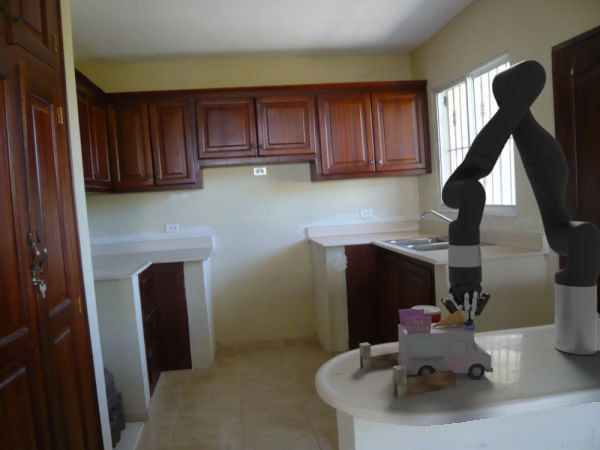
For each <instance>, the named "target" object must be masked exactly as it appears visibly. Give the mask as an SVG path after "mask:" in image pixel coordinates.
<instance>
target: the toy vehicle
mask: <svg viewBox="0 0 600 450" xmlns="http://www.w3.org/2000/svg"><path fill="white" fill-rule="evenodd" d="M398 314H399V321H400V323H399V324H397V327H398V329H397V331H398V350H399V358H398V359H397V361H398V363H399V364H398V366H399V365H402V366H403V367H405V368H406V376H411V375H414V377H417V376H423V375H428V374H433V373H438V372H444V371H449V370H451V371H452V372H454V373H455V374H467V375H468V377H470V378H471V379H472V380H477V381H478V380H481V379H482V378H483V377H484V376H485V373H493V372H494V368H493V367H492V355H491V354H489V352H488V351H486V350H485V349H484V348H483V347H481V346H480V345H479V344H478V343H477V342H476V340H475V332H474V331H475V330H476V325H475V323H473V325H470V326H466V325H465V324H463V323H467V319H468V315H467V313H466V312H465V311H463V310H457V311H456V312H454V313H453V314H451V313H450V314H449V315H448V316H446V317H445V318H442V319H441V321H440V322H438V323H431V319H432V316H423V314H424V309H411V308H407V309H398ZM471 329H473V331H472V330H471Z"/></svg>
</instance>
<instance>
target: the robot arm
mask: <svg viewBox="0 0 600 450" xmlns="http://www.w3.org/2000/svg"><path fill="white" fill-rule="evenodd" d="M546 82H547V73H546V70H545V67H544V66H543V65H542V64H541V63H540V62H538V60H534V59H526V60H522V61H520V62H517V63H515V64H513V65H510V66H509V67H507V68H505V69H502V70H500V71H499V72H497V73H496V74H495V75H494V77H493V79H492V82H491V83H492V84H491V90H492V95H493V97H494V101H495V103H496V105H497V107H498V109H497V111H496V112H495V113H494V114H493V116H492V117H490V119H489V120H488V122H486V124H485V125H484V126H483V127H482V128H481V130H480V131H478V133H477V134H476V136H475V138H474V139H473V141H472V143H471V144H470V147H469V149H467V152H466V154H465V156H464V158H463V160H462V161H461V163H460V164H459V165H458V166H457V167H456V168H455V170H453V173H451V175H450V176H449V177H448V178H447V180H446V181H445V183H444V185H443V187H442V189H441V190H442V191H441V199H442V202H443V205H444V206H446V208H449V209H453V210H458V213H457V216H456V219H453V220H451V221H450V222H449V223H448V229H447V230H448V252H447V259H448V260H447V263H448V265H447V266H448V269H447V270H448V282H449V285H450V286H449V289H448V294H447V295H446V297H441V299H440V302H441V303H442V305H443V306H444V307H445V308H446V310H447V311H448V312H449V314H450V315H451V314H453V313H454V312H456V311H457V310H463V311H465V312H466V313H467V315H468V319H467V323H463V324H465V325H466V326H470V325H473V324H474V320H475V318H476V317H477V316H478V317H479V316H481V314H482V312H483V311H484V309H485V307H486V305H488V301H489V300H490V298H491V295H490V294H489V293H486V292H485V291H483V287H482V285H481V284H482V282H483V265H482V263H483V261H482V256H483V255H482V249H481V232H480V227H481V223H482V219H483V215H484V211H485V207H486V201H487V193H486V189H485V186H484V185H483V184H482V182H480V180H482V179H484V178H486V177H488V176H489V175H491V173H492V172H493V170H494V169H495V166H496V164H497V162H498V160H499V158H500V156H501V154H502V153H503V150H504V148H505V147H506V145H507V143H508V141H509V139H510V137H511V136H512V140H513V141H514V144H515V146H516V149H517V151H518V153H519V157H520V160H521V164H522V166H523V168H524V169H523V170H524V171H525V174H526V177H527V180H528V182H529V184H530V187H531V189H532V193H533V196H534V198H535V201H536V204H537V207H538V209H539V210H538V211H539V214H540V218H541V221H542V225H543V229H544V234H545V238H546V241H547V244H548V246H549V248H550V249H551V250H552V252H554V253H556V255H560V256H563V257H564V256H565V257H567V260H566V266H565V267H564V268H562V269H558V270H557V271H555V273H554V347H555V348H556V349H557V350H559V351H561V352H564V353H567V354H573V355H581V356H582V355H583V356H585V355H586V356H588V355H594V354H596V353H597V352H598V351H599V350H600V313H598V291H597V290H598V278H599V275H600V229H599V227H598V226H597V225H596V224H594V223H592V222H588V221H579V220H578V221H577V220H575V221H574V220H573V219H572V217H571V215H570V213H569V210H568V208H567V204H566V190H567V186H568V181H569V177H570V176H569V175H570V173H569V172H570V171H569V164H568V162H567V159H566V156H565V153H564V152H563V148H562V146H561V144H560V143H559V141H558V140H557V139H556V138H555V137H554V136H553V135H552V134H551V133H550V132H549V131H548V130H547V129H546V128H544V127H543V126H542V124H541V123H539V121H538V120H537V119H536V118H535V117H534V115H533V113H532V111H531V107H532V106H533V104H534V103H535V102H536V101H537V100H538V98H539V96H540V95H541V93H542V92H543V90H544V88H545V87H546ZM471 330H472V331H473V332H474V330H473V329H471Z"/></svg>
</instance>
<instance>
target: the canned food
mask: <svg viewBox="0 0 600 450" xmlns="http://www.w3.org/2000/svg"><path fill="white" fill-rule="evenodd" d="M410 309H424V314H423V316H432V319H431V323H438V322H440V321H441V320H442V312H441V311H442V310H441V308H439V307H438V306H433V305H425V304H424V305H421V304H420V305H415V306H412V307H411V308H410Z"/></svg>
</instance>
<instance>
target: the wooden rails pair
mask: <svg viewBox="0 0 600 450" xmlns="http://www.w3.org/2000/svg"><path fill="white" fill-rule="evenodd" d="M371 350H372V347H371V344H370V343H368V342H367V341H366V342H361V343H359V367H360V369H362V370H363V371H367V370H372V369H377V368H382V367H389V366H392V383H393V396H395V397H396V398H398V399H401V398H407V397H409V396H413V395H418V394H425V393H429V392H434V391H437V390H438V391H439V390H443V389H448V388H452V387H453V388H454V387H456V377H455V376H456V373H454V372H452V371H451V370H449V371H444V372H438V373H435V372H434V373H433V374H428V375H423V376H417V377H415V376H413V377H408V378H407V376H408V375H406V368H405V367H403V366H402V365H399V363H398V361H397V359H398V358H399V349H393V350H387V351H383V352H376V353H375V352H374V353H371V352H372V351H371ZM393 365H394V366H393Z"/></svg>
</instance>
